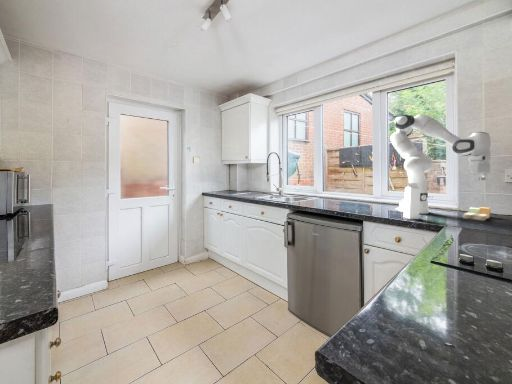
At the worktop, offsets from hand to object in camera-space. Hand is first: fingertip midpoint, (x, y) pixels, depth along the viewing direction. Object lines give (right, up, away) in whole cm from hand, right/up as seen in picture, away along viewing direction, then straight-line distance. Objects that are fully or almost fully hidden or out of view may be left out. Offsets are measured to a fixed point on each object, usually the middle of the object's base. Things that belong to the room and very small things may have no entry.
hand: (480, 180), depth 154 cm
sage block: (+4, -23, +9) cm, 25 cm away
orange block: (+6, -23, +4) cm, 24 cm away
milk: (-43, -24, 0) cm, 49 cm away
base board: (-4, -24, -1) cm, 24 cm away
